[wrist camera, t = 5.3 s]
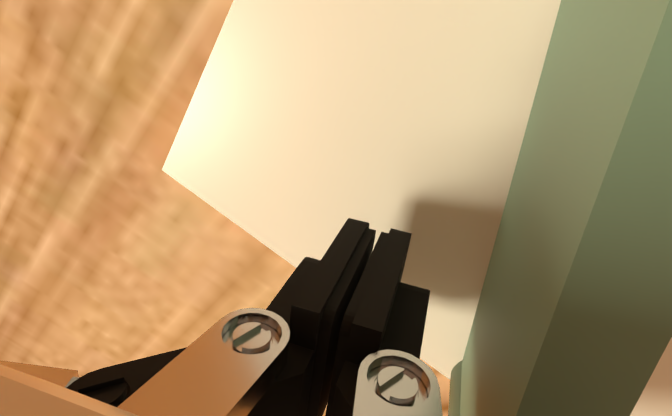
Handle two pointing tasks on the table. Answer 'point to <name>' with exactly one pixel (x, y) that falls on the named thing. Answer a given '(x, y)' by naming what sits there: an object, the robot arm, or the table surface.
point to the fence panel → (582, 228)
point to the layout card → (376, 138)
